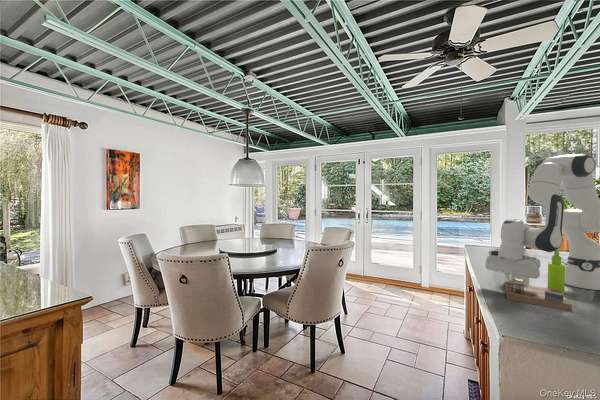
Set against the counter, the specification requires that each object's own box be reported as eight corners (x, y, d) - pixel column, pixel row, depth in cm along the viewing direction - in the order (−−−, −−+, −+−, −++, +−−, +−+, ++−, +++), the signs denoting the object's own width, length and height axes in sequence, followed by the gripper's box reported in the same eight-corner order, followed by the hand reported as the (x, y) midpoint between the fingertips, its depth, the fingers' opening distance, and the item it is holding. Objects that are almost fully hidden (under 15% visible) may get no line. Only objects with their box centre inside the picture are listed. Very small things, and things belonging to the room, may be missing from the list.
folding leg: (523, 293, 117) (523, 286, 117) (512, 291, 119) (513, 284, 119) (523, 285, 130) (523, 278, 130) (513, 283, 132) (513, 276, 132)
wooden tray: (505, 286, 135) (505, 275, 135) (560, 295, 124) (560, 283, 124) (507, 299, 117) (507, 286, 117) (571, 311, 106) (572, 296, 106)
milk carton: (528, 287, 136) (529, 248, 136) (512, 286, 137) (513, 248, 137) (520, 283, 143) (521, 246, 143) (505, 281, 144) (505, 245, 144)
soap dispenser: (569, 294, 125) (570, 251, 125) (549, 291, 129) (550, 249, 129) (565, 291, 130) (566, 249, 130) (546, 288, 134) (547, 247, 134)
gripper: (542, 257, 123) (541, 288, 123) (489, 249, 139) (488, 277, 139) (538, 258, 119) (537, 290, 119) (484, 250, 135) (483, 278, 135)
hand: (510, 283), depth 129 cm, fingers closed
